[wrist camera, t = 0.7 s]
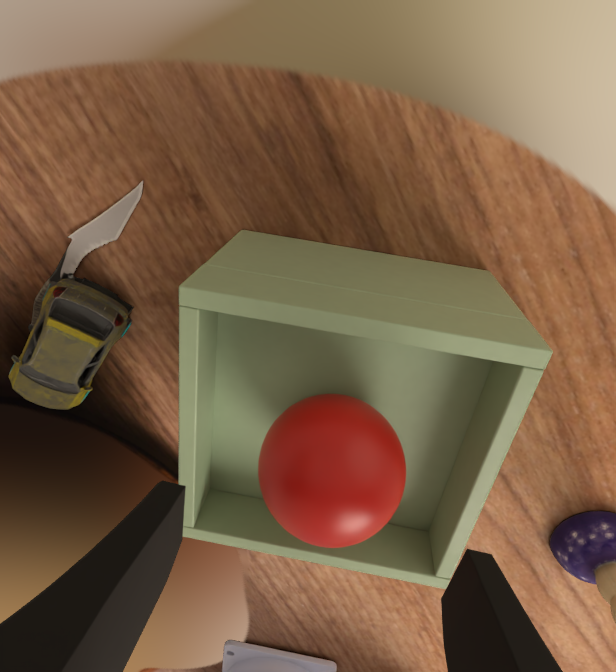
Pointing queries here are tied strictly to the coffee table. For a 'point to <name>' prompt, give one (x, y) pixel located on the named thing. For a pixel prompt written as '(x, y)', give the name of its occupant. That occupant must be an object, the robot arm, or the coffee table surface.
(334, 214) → the coffee table surface
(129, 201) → the knife
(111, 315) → the race car
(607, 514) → the toy lamp
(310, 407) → the ball
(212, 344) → the open box
